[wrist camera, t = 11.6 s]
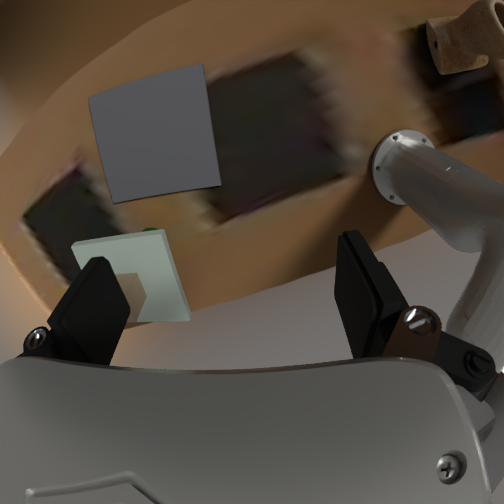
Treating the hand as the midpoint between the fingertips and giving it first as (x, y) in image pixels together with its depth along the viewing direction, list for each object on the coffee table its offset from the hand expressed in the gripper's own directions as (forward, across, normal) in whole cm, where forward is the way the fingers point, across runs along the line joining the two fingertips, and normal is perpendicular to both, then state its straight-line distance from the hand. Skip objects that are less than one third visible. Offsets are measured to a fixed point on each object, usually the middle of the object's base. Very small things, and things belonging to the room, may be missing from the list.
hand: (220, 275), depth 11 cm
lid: (+19, +17, +14) cm, 29 cm away
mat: (+30, +13, -3) cm, 33 cm away
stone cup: (+31, -36, -19) cm, 51 cm away
